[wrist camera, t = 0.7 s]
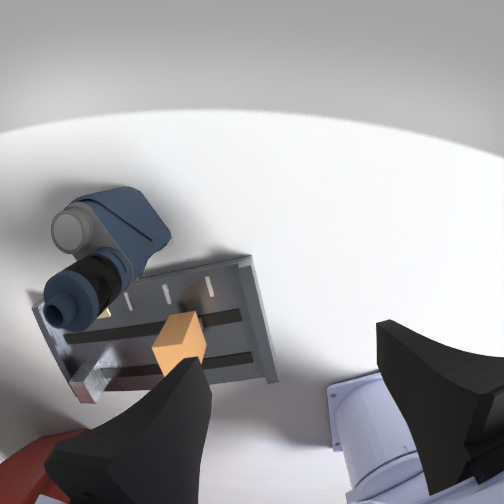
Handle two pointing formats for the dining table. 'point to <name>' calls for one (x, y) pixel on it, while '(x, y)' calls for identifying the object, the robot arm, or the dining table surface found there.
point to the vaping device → (100, 254)
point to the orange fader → (179, 340)
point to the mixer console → (152, 321)
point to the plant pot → (31, 473)
